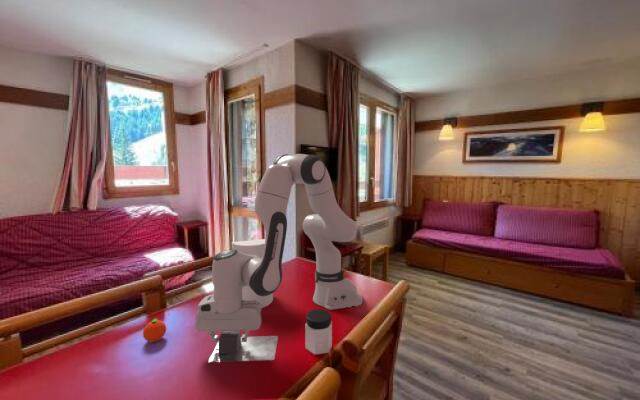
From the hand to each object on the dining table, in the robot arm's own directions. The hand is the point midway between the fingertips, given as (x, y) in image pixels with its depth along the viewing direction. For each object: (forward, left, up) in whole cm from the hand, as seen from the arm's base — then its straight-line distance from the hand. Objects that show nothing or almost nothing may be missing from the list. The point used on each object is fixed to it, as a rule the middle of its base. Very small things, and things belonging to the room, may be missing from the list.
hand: (229, 341), depth 89 cm
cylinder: (-1, -35, -4) cm, 35 cm away
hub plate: (-5, 0, -4) cm, 6 cm away
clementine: (+28, -8, -4) cm, 29 cm away
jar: (-29, 0, -4) cm, 29 cm away
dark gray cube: (0, 0, -2) cm, 2 cm away
